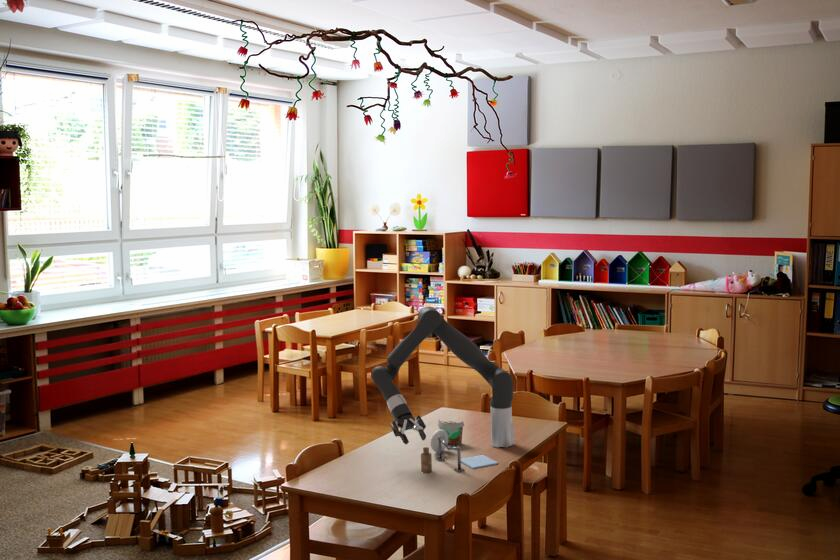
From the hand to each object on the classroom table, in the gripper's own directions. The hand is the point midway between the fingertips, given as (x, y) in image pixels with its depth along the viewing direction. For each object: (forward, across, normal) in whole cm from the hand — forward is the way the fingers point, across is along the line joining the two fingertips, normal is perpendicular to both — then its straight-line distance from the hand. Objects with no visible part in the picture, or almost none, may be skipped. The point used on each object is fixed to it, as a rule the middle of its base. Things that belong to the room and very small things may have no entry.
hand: (415, 441), depth 318 cm
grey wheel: (+1, +19, +14) cm, 24 cm away
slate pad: (+16, +23, -1) cm, 28 cm away
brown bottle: (+12, 0, +3) cm, 13 cm away
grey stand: (+12, +12, +3) cm, 17 cm away
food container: (-3, +29, +19) cm, 35 cm away
